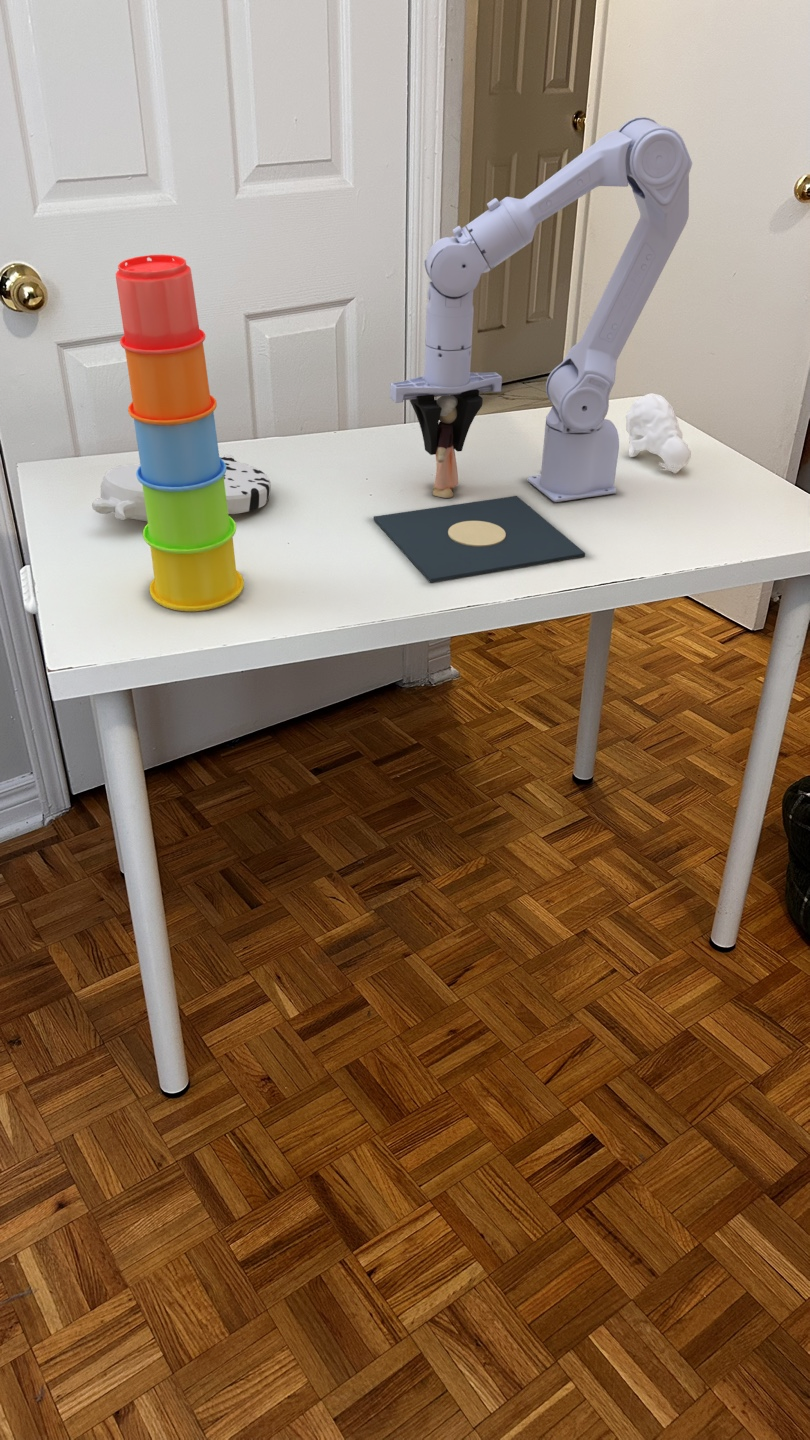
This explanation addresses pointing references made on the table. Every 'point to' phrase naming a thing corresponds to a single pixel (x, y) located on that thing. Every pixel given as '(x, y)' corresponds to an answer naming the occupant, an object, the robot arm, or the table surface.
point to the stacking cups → (176, 437)
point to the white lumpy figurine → (656, 431)
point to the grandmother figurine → (446, 449)
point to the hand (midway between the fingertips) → (443, 450)
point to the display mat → (476, 538)
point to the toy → (127, 496)
